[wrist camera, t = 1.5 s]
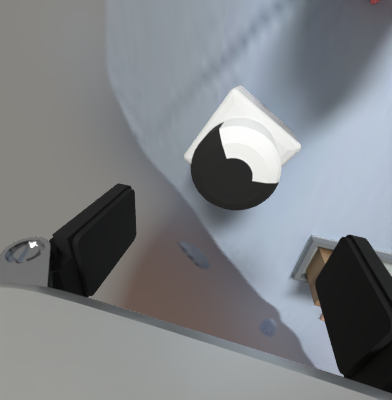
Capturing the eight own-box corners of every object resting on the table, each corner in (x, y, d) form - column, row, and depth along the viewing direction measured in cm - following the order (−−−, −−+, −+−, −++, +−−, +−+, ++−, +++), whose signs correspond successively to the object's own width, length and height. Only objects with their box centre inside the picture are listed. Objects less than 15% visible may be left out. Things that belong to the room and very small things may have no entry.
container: (244, 176, 29) (238, 238, 18) (198, 139, 28) (161, 180, 17) (291, 129, 25) (319, 171, 14) (239, 83, 24) (225, 90, 13)
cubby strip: (431, 262, 28) (438, 269, 27) (396, 299, 32) (401, 307, 31) (311, 235, 31) (313, 241, 29) (292, 272, 35) (293, 279, 34)
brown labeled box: (356, 255, 30) (377, 292, 25) (339, 279, 33) (355, 316, 28) (318, 246, 31) (331, 280, 26) (305, 270, 33) (314, 305, 28)
